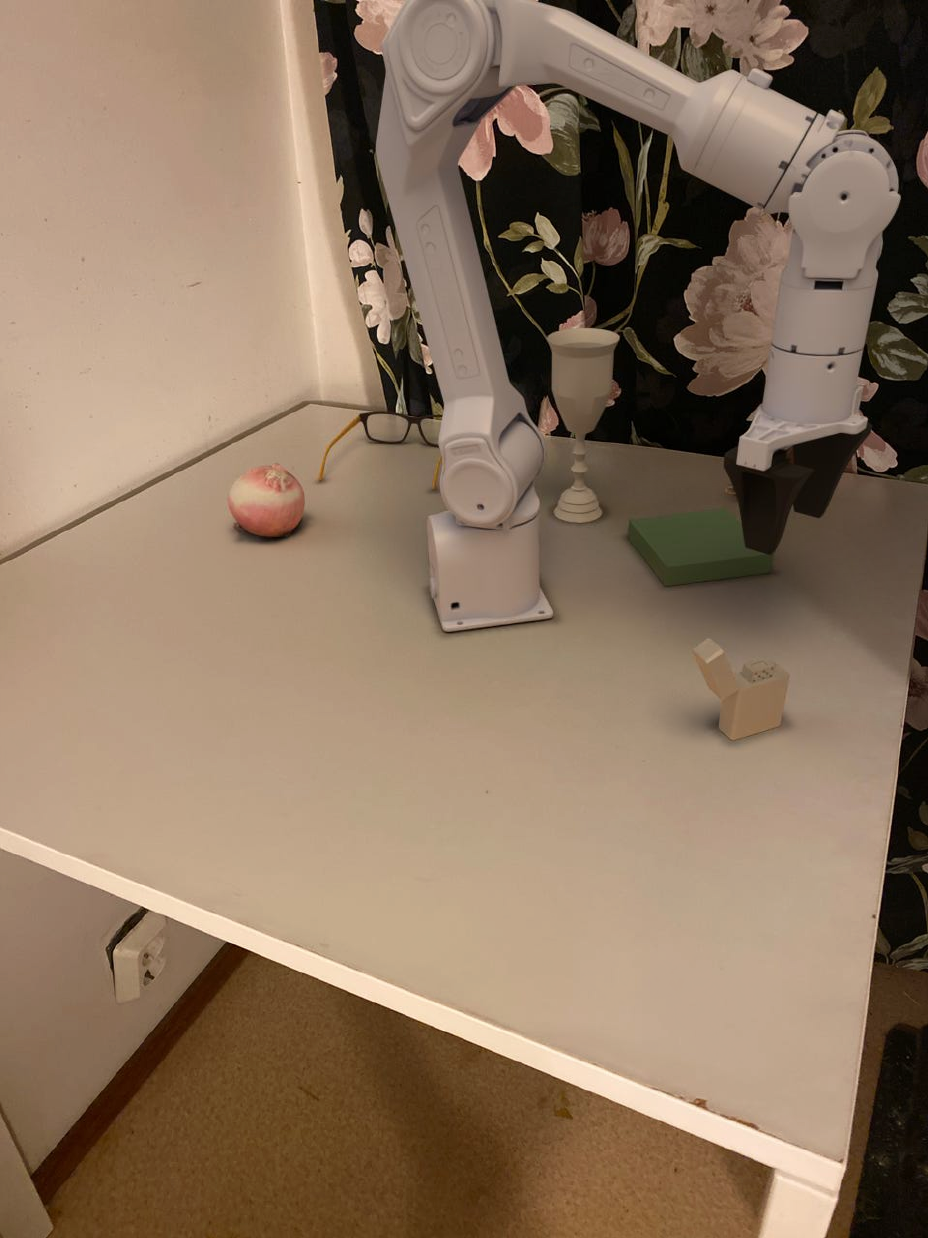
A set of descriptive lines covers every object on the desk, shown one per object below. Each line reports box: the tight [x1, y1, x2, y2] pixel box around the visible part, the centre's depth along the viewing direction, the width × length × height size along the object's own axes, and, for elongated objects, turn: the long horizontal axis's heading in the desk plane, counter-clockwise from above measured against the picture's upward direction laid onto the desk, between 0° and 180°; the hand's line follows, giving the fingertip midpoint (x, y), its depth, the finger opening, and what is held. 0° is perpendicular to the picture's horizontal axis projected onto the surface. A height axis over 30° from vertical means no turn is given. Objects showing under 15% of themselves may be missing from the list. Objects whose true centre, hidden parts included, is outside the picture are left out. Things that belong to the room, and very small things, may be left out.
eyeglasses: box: [318, 410, 443, 491], centre depth 104 cm, size 14×14×4 cm
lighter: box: [691, 637, 791, 741], centre depth 58 cm, size 7×2×8 cm, turn 111°
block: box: [627, 507, 774, 587], centre depth 81 cm, size 10×10×2 cm
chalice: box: [546, 327, 621, 524], centre depth 86 cm, size 7×7×18 cm
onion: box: [227, 462, 306, 538], centre depth 88 cm, size 8×8×7 cm
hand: (784, 531), depth 64 cm, fingers open, 7 cm apart
